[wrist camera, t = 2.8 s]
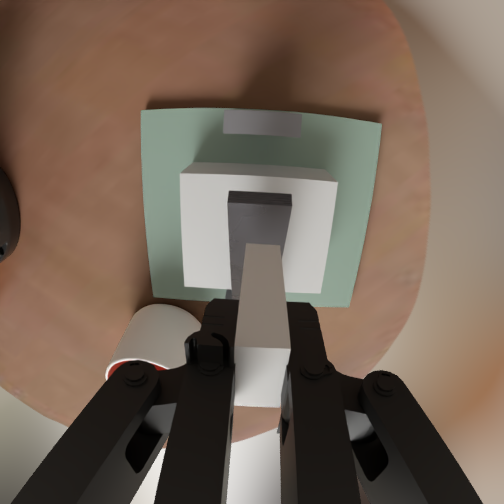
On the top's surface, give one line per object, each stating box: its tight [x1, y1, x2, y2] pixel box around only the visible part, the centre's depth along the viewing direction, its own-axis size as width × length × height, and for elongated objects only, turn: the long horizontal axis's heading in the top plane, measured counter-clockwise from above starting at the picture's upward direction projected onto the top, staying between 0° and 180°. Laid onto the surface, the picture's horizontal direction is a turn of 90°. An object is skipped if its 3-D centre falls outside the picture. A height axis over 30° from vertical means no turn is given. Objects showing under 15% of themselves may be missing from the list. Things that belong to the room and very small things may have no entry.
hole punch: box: [141, 108, 382, 307], centre depth 27 cm, size 22×20×9 cm
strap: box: [227, 190, 292, 300], centre depth 21 cm, size 4×17×1 cm, turn 177°
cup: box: [106, 304, 201, 381], centre depth 33 cm, size 10×10×10 cm
